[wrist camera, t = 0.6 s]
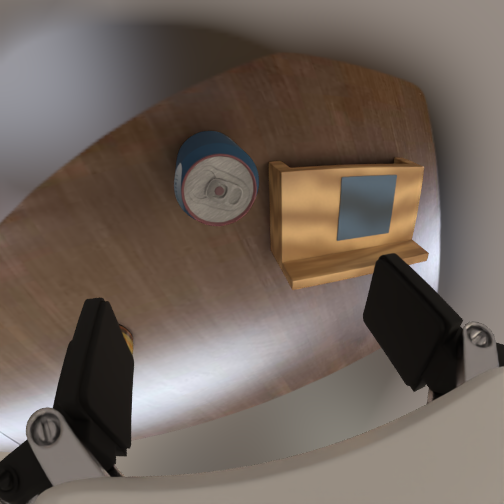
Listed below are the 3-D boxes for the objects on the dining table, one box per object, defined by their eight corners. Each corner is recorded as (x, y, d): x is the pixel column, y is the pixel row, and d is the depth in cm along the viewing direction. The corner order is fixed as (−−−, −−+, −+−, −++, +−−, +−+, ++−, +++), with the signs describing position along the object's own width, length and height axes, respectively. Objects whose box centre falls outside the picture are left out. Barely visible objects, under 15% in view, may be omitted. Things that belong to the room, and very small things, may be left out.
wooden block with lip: (268, 161, 33) (294, 183, 26) (401, 157, 37) (444, 176, 29) (270, 250, 40) (292, 290, 32) (391, 231, 43) (426, 260, 35)
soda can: (168, 177, 32) (161, 218, 22) (190, 120, 29) (193, 132, 19) (223, 196, 34) (242, 243, 24) (247, 142, 32) (279, 166, 22)
